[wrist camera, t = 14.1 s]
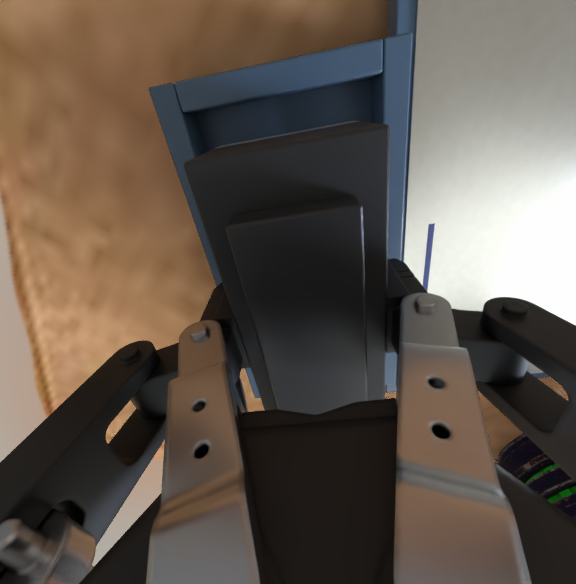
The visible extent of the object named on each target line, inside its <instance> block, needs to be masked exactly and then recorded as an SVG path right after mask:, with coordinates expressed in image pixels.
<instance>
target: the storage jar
mask: <svg viewBox="0 0 576 584" xmlns="http://www.w3.org/2000/svg"><path fill="white" fill-rule="evenodd" d="M497 464H498V465H499V466H500V467H502V468H503V469H505V470H506V471H507V472H509V473H510V474H511V475H513V476H514V477H516V478H517V479H518V480H520V481H521V482H523V483H524V484H525V485H527V486H528V487H530V488H531V489H532V490H534V491H535V492H537V493H538V494H539V495H541V496H542V497H544V498H545V499H546V500H548V501H549V502H550V503H552V504H553V505H555V506H556V507H557V508H559V509H560V510H562V511H563V512H564V513H566V514H567V515H569V516H570V517H571V518H573V519H574V520H576V482H575V481H574V480H573V479H572V478H570V477H569V476H568V475H567V474H566V473H565V472H564V471H563V470H562V469H561V468H560V467H559V466H558V465H557V464H556V463H555V462H554V461H553V460H551V459H550V458H549V457H548V456H547V455H546V454H545V453H544V452H543V451H542V450H541V449H540V448H539V447H538V446H537V445H536V444H535V443H533V442H532V441H531V440H530V439H529V438H528V437H527V436H526V435H525V434H524V435H522V436H520V437H519V438H517V439H515V440H514V441H513V442H511V443H510V444H509V445H508V446H507V447H506V448H505V449H504V450H503V451H502V452H501V454H500V455H499V458H498V460H497Z"/></svg>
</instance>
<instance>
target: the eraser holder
mask: <svg viewBox="0 0 576 584" xmlns="http://www.w3.org/2000/svg"><path fill="white" fill-rule="evenodd" d="M412 36H413V35H412V33H411V32H409V33H404V34H399V35H395V36H390V37H386V38H384V39H383V40H382V39H376V40H371V41H367V42H362V43H357V44H353V45H348V46H343V47H339V48H334V49H329V50H324V51H320V52H315V53H310V54H306V55H301V56H296V57H292V58H287V59H282V60H277V61H273V62H268V63H263V64H259V65H254V66H249V67H245V68H240V69H235V70H230V71H226V72H221V73H216V74H212V75H207V76H202V77H197V78H193V79H188V80H183V81H179V82H176V83H175V84H174V83H168V84H164V85H159V86H154V87H150V88H149V92H150V95H151V98H152V101H153V103H154V106H155V109H156V112H157V115H158V118H159V121H160V124H161V127H162V130H163V132H164V135H165V138H166V141H167V144H168V147H169V150H170V153H171V156H172V158H173V161H174V164H175V167H176V170H177V173H178V176H179V179H180V182H181V184H182V187H183V190H184V193H185V196H186V199H187V202H188V205H189V208H190V211H191V213H192V216H193V219H194V222H195V225H196V228H197V231H198V234H199V237H200V239H201V242H202V245H203V248H204V251H205V254H206V257H207V260H208V263H209V265H210V268H211V271H212V274H213V277H214V280H215V283H216V286H218V285H219V284H220V283H221V282H222V280H221V277H220V274H219V271H218V268H217V265H216V262H215V259H214V256H213V253H212V250H211V247H210V244H209V241H208V238H207V235H206V232H205V229H204V226H203V223H202V220H201V217H200V214H199V211H198V208H197V205H196V202H195V199H194V196H193V193H192V190H191V187H190V184H189V181H188V178H187V175H186V172H185V169H184V163H185V162H186V161H188V160H190V159H193V158H195V157H197V156H199V155H202V154H204V153H206V152H208V151H210V150H213V149H214V148H216V147H219V146H222V145H227V144H232V143H237V142H243V141H248V140H253V139H259V138H264V137H269V136H274V135H280V134H285V133H290V132H295V131H301V130H306V129H311V128H317V127H322V126H327V125H332V124H338V123H343V122H348V121H353V120H355V121H362V122H371V123H379V124H387V125H389V126H390V172H389V221H388V259H392V258H396V259H398V260H400V261H401V254H402V234H403V214H404V194H405V175H406V155H407V135H408V115H409V95H410V76H411V56H412ZM245 370H246V373H247V375H248V378H249V381H250V384H251V387H252V390H253V393H254V396H255V398H261V397H260V394H259V391H258V388H257V385H256V382H255V379H254V376H253V373H252V370H251V368H245ZM395 373H396V352H392V353H386V370H385V385H393V384H395Z"/></svg>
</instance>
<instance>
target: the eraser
mask: <svg viewBox="0 0 576 584" xmlns="http://www.w3.org/2000/svg"><path fill="white" fill-rule="evenodd" d="M184 169H185V172H186V175H187V178H188V181H189V184H190V187H191V190H192V193H193V196H194V199H195V202H196V205H197V208H198V211H199V214H200V217H201V220H202V223H203V226H204V229H205V232H206V235H207V238H208V241H209V244H210V247H211V250H212V253H213V256H214V259H215V262H216V265H217V268H218V271H219V274H220V277H221V280H222V283H223V286H224V289H225V292H226V295H227V298H228V301H229V304H230V307H231V310H232V313H233V316H234V319H235V322H236V325H237V328H238V331H239V334H240V337H241V340H242V343H243V346H244V349H245V352H246V355H247V358H248V361H249V364H250V367H251V370H252V373H253V376H254V379H255V382H256V385H257V388H258V391H259V394H260V397H261V400H262V403H263V406H264V409H265V410H275V409H279V410H285V411H292V412H299V413H306V414H313V415H317V414H322V413H324V412H327V411H330V410H333V409H336V408H339V407H342V406H345V405H348V404H351V403H354V402H360V401H370V400H381V399H385V370H386V314H387V271H388V221H389V172H390V126H389V125H387V124H379V123H371V122H362V121H355V120H353V121H348V122H343V123H338V124H332V125H327V126H322V127H317V128H311V129H306V130H301V131H295V132H290V133H285V134H280V135H274V136H269V137H264V138H259V139H253V140H248V141H243V142H237V143H232V144H227V145H222V146H219V147H216V148H214V149H213V150H210V151H208V152H206V153H204V154H202V155H199V156H197V157H195V158H193V159H190V160H188V161H186V162H185V163H184Z"/></svg>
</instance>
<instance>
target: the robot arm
mask: <svg viewBox="0 0 576 584" xmlns="http://www.w3.org/2000/svg"><path fill="white" fill-rule="evenodd" d="M392 352H396V354H397V356H398V364H397V390H396V399H395V398H391V399H381V400H370V401H360V402H354V403H351V404H348V405H345V406H342V407H339V408H336V409H333V410H330V411H327V412H324V413H322V414H317V415H313V414H306V413H299V412H292V411H285V410H279V409H275V410H265V411H254V412H248V408H247V404H246V400H245V395H244V391H243V387H242V382H241V380H240V377H239V376H240V371H241V369H242V368H251V367H250V364H249V361H248V358H247V355H246V352H245V349H244V346H243V343H242V340H241V337H240V334H239V331H238V328H237V325H236V322H235V319H234V316H233V313H232V310H231V307H230V304H229V301H228V298H227V295H226V292H225V289H224V286H223V283H222V282H221V283H220V284H219V285H218V286H217V287H216V288H215V289H214V290H213V292H212V295H211V298H210V299H209V302H208V304H207V306H206V308H205V311H204V313H203V315H202V317H201V320H200V321H199V322H196V323H194V324H192V325H190V326H189V327H187V328H186V329H185V330H184V331H183V332H182V333H181V335H180V337H179V343H176V344H174V345H171V346H168V347H165V348H162V349H159V350H156V349H155V347H154V345H153V344H152V343H151V342H149V341H137V342H134V343H131V344H128V345H126V346H124V347H123V348H121V349H120V350H118V351H117V352H116V353H115V354H114V355H113V356H112V357H110V358H109V359H108V360H107V361H106V362H105V363H104V364H103V365H102V366H101V367H100V368H99V369H98V370H97V371H96V372H95V373H94V374H93V375H92V376H91V377H89V378H88V379H87V380H86V381H85V382H84V383H83V384H82V385H81V386H80V387H79V388H78V389H77V390H76V391H75V392H74V393H73V394H72V395H71V396H70V397H69V398H67V399H66V400H65V401H64V402H63V403H62V404H61V405H60V406H59V407H58V408H57V409H56V410H55V411H54V412H53V413H52V414H51V415H50V416H49V417H48V418H47V419H45V420H44V421H43V422H42V423H41V424H40V425H39V426H38V427H37V428H36V429H35V430H34V431H33V432H32V433H31V434H30V435H29V436H28V437H27V438H26V439H25V440H24V441H22V442H21V443H20V444H19V445H18V446H17V447H16V448H15V449H14V450H13V451H12V452H11V453H10V454H9V455H8V456H7V457H6V458H5V459H4V460H2V461H1V462H0V584H576V520H574V519H573V518H571V517H570V516H569V515H567V514H566V513H564V512H563V511H562V510H560V509H559V508H557V507H556V506H555V505H553V504H552V503H550V502H549V501H548V500H546V499H545V498H544V497H542V496H541V495H539V494H538V493H537V492H535V491H534V490H532V489H531V488H530V487H528V486H527V485H525V484H524V483H523V482H521V481H520V480H518V479H517V478H516V477H514V476H513V475H511V474H510V473H509V472H507V471H506V470H505V469H503V468H502V467H500V466H499V465H498V464H496V463H495V462H494V459H493V454H492V450H491V446H490V442H489V437H488V433H487V429H486V425H485V420H484V416H483V412H482V407H481V403H480V399H479V395H478V391H480V392H481V393H482V394H483V395H484V396H485V397H486V398H487V399H488V400H489V401H490V402H491V403H492V404H493V405H494V406H495V407H496V408H498V409H499V410H500V411H501V412H502V413H503V414H504V415H505V416H506V417H507V418H508V419H509V420H510V421H511V422H512V423H513V424H514V425H515V426H517V427H518V428H519V429H520V430H521V431H522V432H523V433H524V434H525V435H526V436H527V437H528V438H529V439H530V440H531V441H532V442H533V443H535V444H536V445H537V446H538V447H539V448H540V449H541V450H542V451H543V452H544V453H545V454H546V455H547V456H548V457H549V458H550V459H551V460H553V461H554V462H555V463H556V464H557V465H558V466H559V467H560V468H561V469H562V470H563V471H564V472H565V473H566V474H567V475H568V476H569V477H570V478H572V479H573V480H574V481H575V482H576V325H574V324H572V323H570V322H568V321H566V320H564V319H562V318H561V317H559V316H557V315H555V314H553V313H551V312H549V311H547V310H545V309H543V308H541V307H540V306H538V305H536V304H534V303H531V302H529V301H526V300H523V299H519V298H512V297H497V298H493V299H490V300H488V301H487V302H486V303H485V304H484V307H483V311H470V310H458V309H452V308H451V305H450V303H449V302H448V301H447V300H446V299H445V298H443V297H441V296H438V295H435V294H431V293H428V292H427V291H426V290H425V288H424V287H423V286H422V284H421V283H420V282H419V280H418V279H417V278H416V277H415V275H414V274H413V273H412V271H410V269H409V267H408V266H407V265H406V263H404V262H402V261H400V260H398V259H396V258H392V259H388V271H387V314H386V353H392ZM530 363H531V364H533V365H534V366H536V367H537V368H538V369H540V370H541V371H543V372H544V373H546V374H547V375H548V376H550V377H551V378H553V379H554V380H555V381H557V382H558V383H559V384H560V385H561V386H562V387H563V388H564V389H565V391H566V393H567V395H568V398H569V402H568V401H567V400H565V399H564V398H563V397H561V396H560V395H559V394H557V393H556V392H555V391H553V390H552V389H551V388H549V387H548V386H546V385H545V384H544V383H542V382H541V381H540V380H538V379H537V378H536V377H534V376H533V375H532V374H530V373H529V372H528V371H527V369H528V366H529V364H530ZM129 400H131V401H132V403H133V404H134V406H135V407H136V408H137V409H136V410H135V411H134V412H133V414H132V415H131V416H130V417H129V419H128V420H127V421H126V423H125V424H124V425H123V426H122V428H121V429H120V430H119V431H118V433H117V434H116V435H115V436H114V438H113V439H112V440H111V441H110V443H109V444H107V442H106V439H105V435H106V431H107V428H108V426H109V425H110V423H111V422H112V421H113V420H114V418H115V417H116V416H117V415H118V414H119V412H120V411H121V410H122V409H123V408H124V406H125V405H126V404H127V403H128V402H129ZM164 439H165V445H164V461H163V477H162V493H161V494H160V495H159V496H158V498H156V500H155V501H154V502H153V503H152V504H151V505H150V506H149V507H148V508H147V509H146V511H145V512H144V513H143V514H142V515H141V516H140V517H139V518H138V519H137V520H136V522H135V523H134V524H133V525H132V526H131V527H130V528H129V529H128V530H127V531H126V532H125V534H124V535H123V536H122V537H121V538H120V539H119V540H118V541H117V543H115V545H114V546H113V547H112V548H111V549H110V550H109V551H108V552H107V553H106V554H105V556H104V557H103V558H102V559H101V560H100V561H99V562H98V563H97V564H96V565H95V566H94V567H93V566H92V563H93V560H94V556H95V550H96V546H97V544H98V542H99V541H100V539H101V538H102V536H103V535H104V533H105V531H106V530H107V528H108V527H109V525H110V524H111V522H112V521H113V519H114V517H115V516H116V514H117V513H118V511H119V510H120V508H121V507H122V505H123V503H124V502H125V500H126V499H127V497H128V496H129V494H130V492H131V491H132V489H133V488H134V486H135V485H136V483H137V482H138V480H139V478H140V477H141V475H142V474H143V472H144V471H145V469H146V468H147V466H148V464H149V463H150V461H151V460H152V458H153V457H154V455H155V453H156V452H157V450H158V449H159V447H160V446H161V444H162V443H163V441H164Z"/></svg>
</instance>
